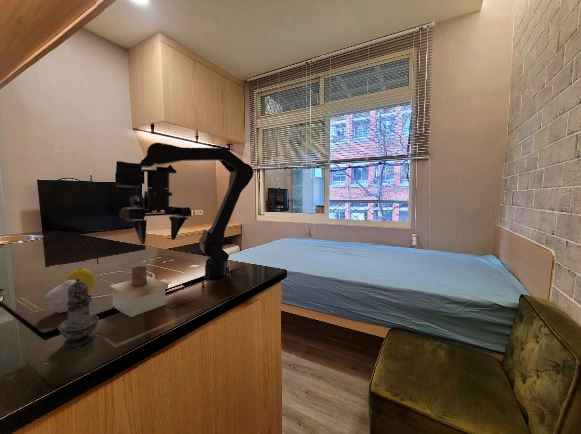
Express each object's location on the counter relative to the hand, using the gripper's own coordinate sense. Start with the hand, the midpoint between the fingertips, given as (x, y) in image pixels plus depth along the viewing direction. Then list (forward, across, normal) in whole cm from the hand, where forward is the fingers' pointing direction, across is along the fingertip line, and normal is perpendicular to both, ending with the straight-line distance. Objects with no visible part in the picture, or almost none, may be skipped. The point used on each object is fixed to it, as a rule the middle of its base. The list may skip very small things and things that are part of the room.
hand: (158, 241), depth 76 cm
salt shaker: (+13, +25, +16) cm, 32 cm away
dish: (+13, +12, +11) cm, 21 cm away
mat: (+13, +2, +3) cm, 13 cm away
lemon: (+13, +17, -6) cm, 22 cm away
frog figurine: (+13, +22, 0) cm, 26 cm away
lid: (+8, +11, +11) cm, 18 cm away
